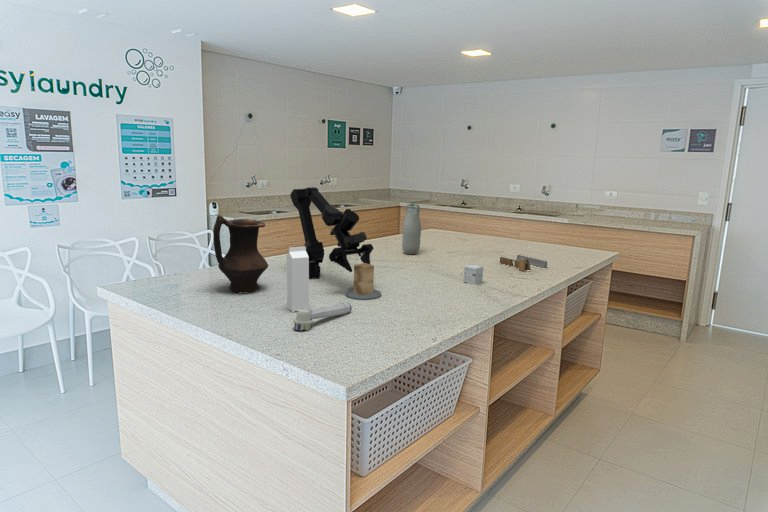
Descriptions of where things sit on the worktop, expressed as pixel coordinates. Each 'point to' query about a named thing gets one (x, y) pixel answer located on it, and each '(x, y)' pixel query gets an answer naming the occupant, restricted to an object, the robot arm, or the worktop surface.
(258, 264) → the jug
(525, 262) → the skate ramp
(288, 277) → the milk
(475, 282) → the skincare box
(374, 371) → the worktop surface
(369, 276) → the tan wooden block
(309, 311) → the toothbrush head
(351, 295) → the mat
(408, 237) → the grey bottle
